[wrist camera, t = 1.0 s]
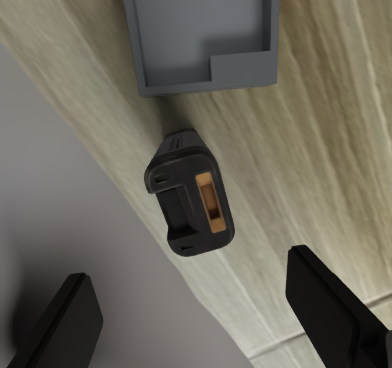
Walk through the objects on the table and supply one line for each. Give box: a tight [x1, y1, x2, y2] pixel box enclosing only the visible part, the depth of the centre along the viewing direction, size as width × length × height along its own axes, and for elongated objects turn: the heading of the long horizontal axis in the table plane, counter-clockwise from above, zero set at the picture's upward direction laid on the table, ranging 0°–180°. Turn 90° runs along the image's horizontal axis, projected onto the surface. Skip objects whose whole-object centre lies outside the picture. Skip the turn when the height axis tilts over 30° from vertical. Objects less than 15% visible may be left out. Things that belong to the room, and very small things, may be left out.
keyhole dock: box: [124, 0, 280, 98], centre depth 28 cm, size 19×19×4 cm
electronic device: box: [144, 128, 235, 257], centre depth 26 cm, size 9×6×20 cm, turn 16°
